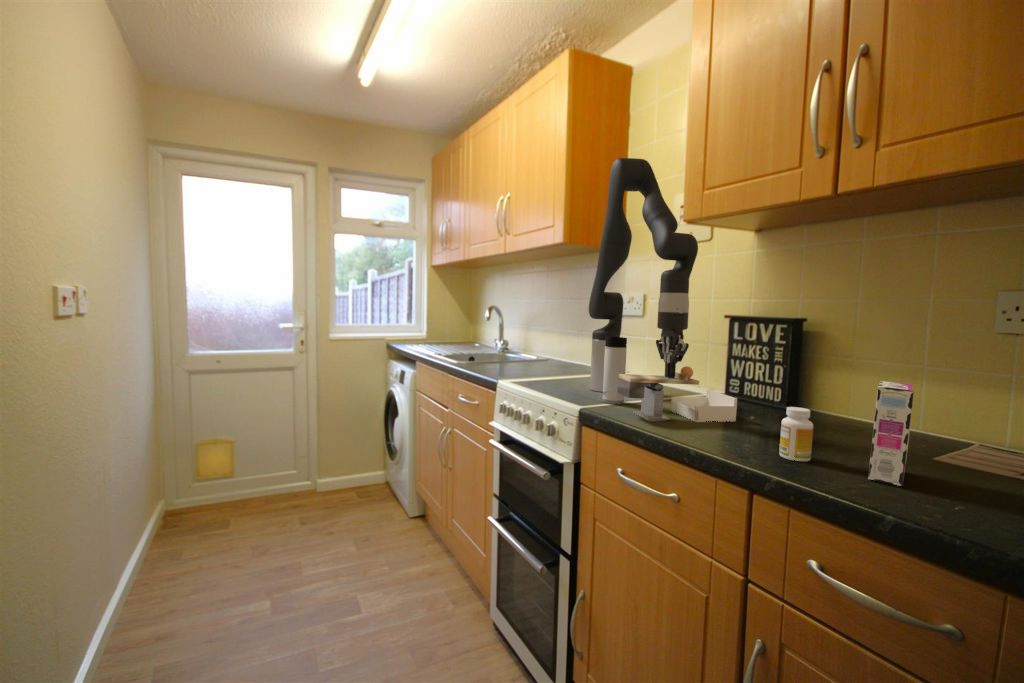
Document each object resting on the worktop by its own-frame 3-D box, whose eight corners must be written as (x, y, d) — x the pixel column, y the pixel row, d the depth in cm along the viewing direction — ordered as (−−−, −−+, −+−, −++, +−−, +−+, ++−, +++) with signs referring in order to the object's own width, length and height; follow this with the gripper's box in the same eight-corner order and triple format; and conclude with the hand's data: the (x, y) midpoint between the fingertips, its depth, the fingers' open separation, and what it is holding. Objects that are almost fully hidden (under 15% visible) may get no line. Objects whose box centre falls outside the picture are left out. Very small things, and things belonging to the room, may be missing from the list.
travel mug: (601, 403, 139) (604, 335, 137) (603, 399, 145) (606, 334, 143) (622, 405, 137) (626, 336, 135) (624, 401, 143) (627, 335, 141)
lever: (628, 397, 118) (630, 373, 118) (617, 392, 125) (619, 369, 125) (697, 400, 122) (699, 376, 122) (682, 394, 129) (684, 372, 128)
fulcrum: (632, 413, 128) (634, 378, 127) (653, 412, 129) (655, 378, 128) (648, 421, 119) (650, 384, 118) (670, 420, 120) (672, 384, 119)
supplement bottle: (813, 458, 93) (817, 409, 92) (807, 464, 89) (811, 413, 88) (783, 451, 97) (786, 404, 96) (775, 457, 93) (779, 408, 92)
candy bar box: (905, 488, 78) (915, 390, 77) (867, 480, 81) (876, 386, 80) (904, 471, 87) (913, 383, 85) (870, 465, 90) (878, 379, 88)
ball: (676, 375, 126) (680, 364, 126) (686, 379, 127) (690, 367, 126) (682, 377, 123) (686, 365, 123) (693, 380, 123) (697, 369, 123)
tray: (670, 411, 131) (671, 389, 131) (707, 410, 134) (709, 389, 133) (695, 422, 120) (697, 398, 119) (735, 421, 122) (737, 398, 121)
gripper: (647, 310, 128) (644, 373, 130) (673, 310, 115) (669, 381, 117) (673, 311, 130) (670, 373, 131) (701, 311, 117) (697, 381, 118)
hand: (669, 377), depth 124 cm, fingers closed
